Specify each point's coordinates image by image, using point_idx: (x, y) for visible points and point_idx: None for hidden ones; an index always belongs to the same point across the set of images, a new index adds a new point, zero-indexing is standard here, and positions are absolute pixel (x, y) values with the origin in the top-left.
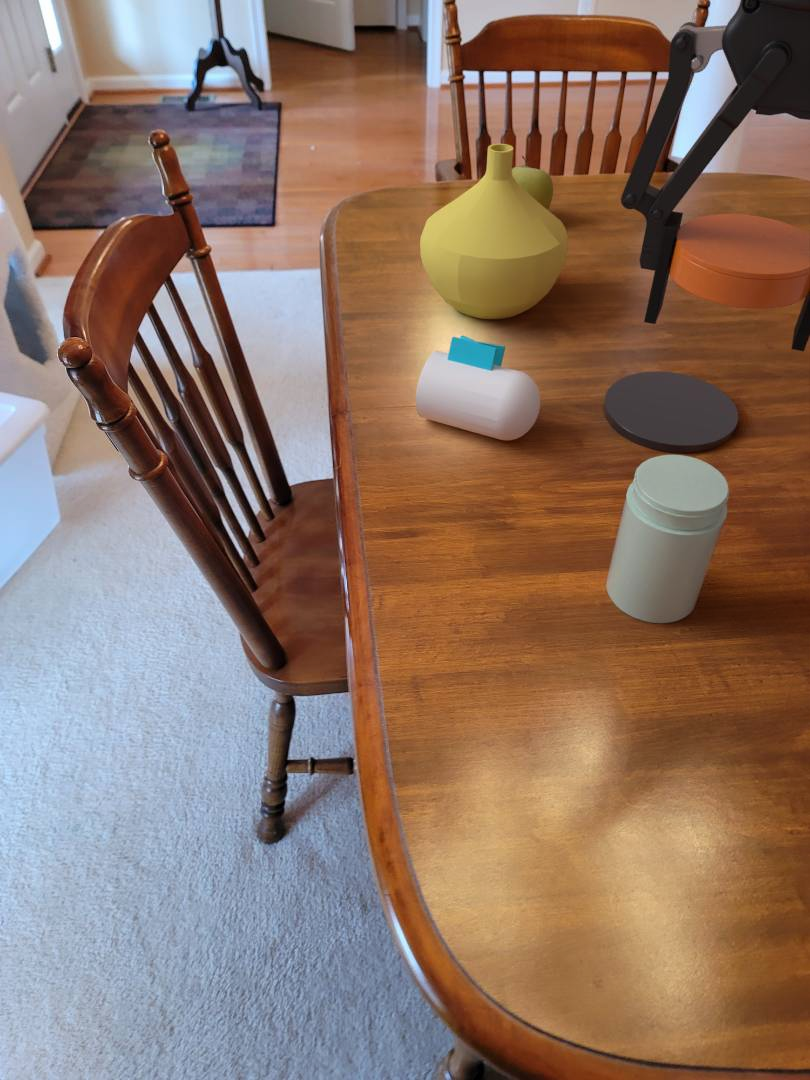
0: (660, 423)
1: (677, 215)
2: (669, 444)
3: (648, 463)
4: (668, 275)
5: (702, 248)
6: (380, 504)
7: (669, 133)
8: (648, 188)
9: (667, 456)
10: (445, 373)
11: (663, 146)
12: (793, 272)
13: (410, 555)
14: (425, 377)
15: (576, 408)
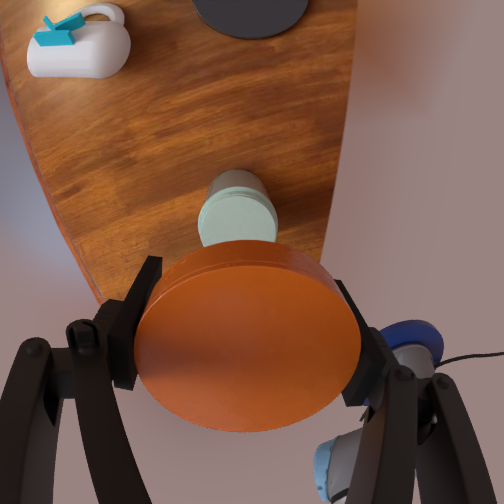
0: (241, 12)
1: (121, 350)
2: (249, 37)
3: (209, 215)
4: (151, 292)
5: (179, 396)
6: (51, 167)
7: (40, 467)
8: (57, 386)
9: (225, 202)
10: (42, 60)
11: (51, 469)
12: (298, 421)
13: (82, 208)
14: (32, 68)
15: (169, 2)
